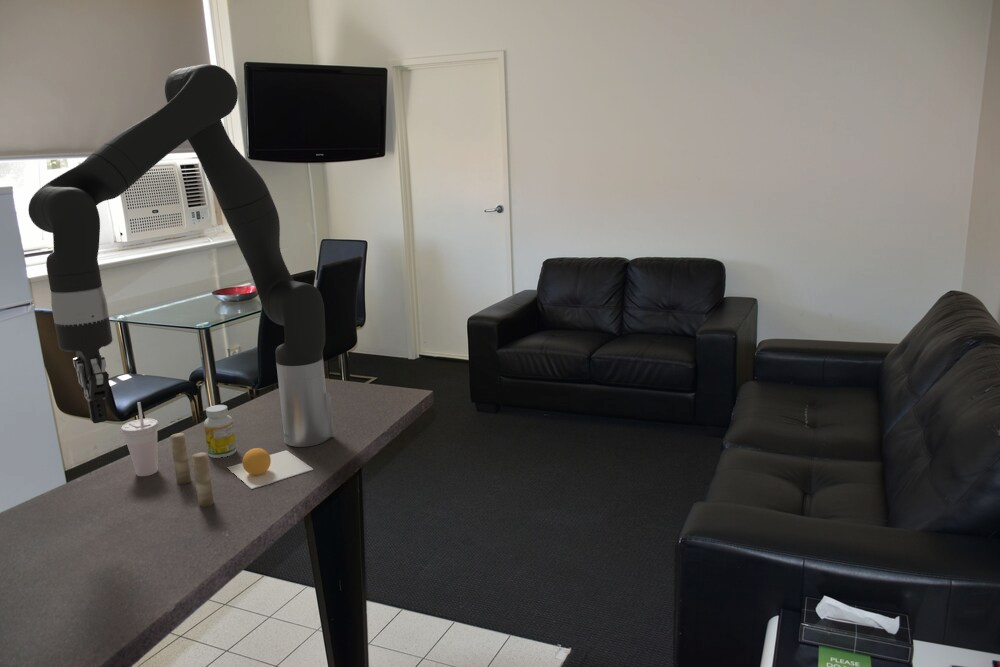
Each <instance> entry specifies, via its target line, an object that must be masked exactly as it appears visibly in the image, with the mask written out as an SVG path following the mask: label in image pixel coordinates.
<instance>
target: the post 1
mask: <svg viewBox="0 0 1000 667" xmlns="http://www.w3.org/2000/svg"><path fill="white" fill-rule="evenodd" d="M169 437H170V442H171V443H170V445H171V449H172V457H173V463H174V471H175V477H176V484H178V485H184V484H188V483H190V482H192V478H191V471H190V470H191V469H190V464H189V456H188V451H187V449H188V448H187V442H186V434H185V433H183V432H179V433H178V432H177V433H174V434H172V435H171V434H170V436H169Z"/></svg>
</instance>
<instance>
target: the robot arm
mask: <svg viewBox="0 0 1000 667" xmlns="http://www.w3.org/2000/svg"><path fill="white" fill-rule="evenodd" d="M238 94H239V91H238V86H237V84H236V81H235V79H234V78H233V76H232V75H231V74H230V73H229V72H228V71H227V70H226V69H224V67H223V68H222V67H221V66H218V65H215V64H210V63H208V64H205V63H204V64H196V65H191V66H186V67H181V68H178V69H175V70H173V71H171V73H169V75H168V76H167V78H166V80H165V85H164V96H165V99H166V102H167V103H166V104H165V105H164V106H162V107H160V109H158V110H156V111H155V112H153V113H152V114H150V115H149V116H147V117H145V118H144V119H142V120H140V121H138V122H136V123H134V124H132V125H131V126H129V127H126V128H125V129H124V130H122V131H120V132H119V133H117V134H115V135H114V136H113V137H111V138H110V139H109V140H107V141H106V142H105V143H104V144H102V145H101V146H100V147H99V148H98V149H96V150H95V151H94V152H92V153H91V154H90V155H89V156H87V157H86V158H85V160H83V161H82V162H81V163H80V164H78V165H77V166H75V167H73V168H71V169H69V170H66V171H65V172H64V173H61V174H60V175H58V176H56V177H55V178H53V179H52V180H50V181H49V182H46V183H45V184H44V185H42V186H41V187H40V188H39V189H38V190H37V191H36V192H34V194H33V195H32V197H31V198H30V201H29V204H28V216H29V218H30V221H31V222H32V223H33V224H34V226H36V227H37V228H38V229H40V230H42V231H44V232H46V233H51V234H52V239H53V240H52V241H53V242H52V244H53V252H51V253H49V255H48V256H47V257H46V260H45V262H46V264H45V266H46V271H47V277H48V283H49V289H50V296H51V297H50V299H51V300H50V303H51V311H52V317H53V322H54V328H55V333H56V334H55V335H56V339H57V343H58V348H59V349H60V350H61V351H64V352H68V353H69V352H70V353H71V352H72V353H74V352H75V356H76V357H74V358H72V363H73V367H74V368H75V371H76V372H75V373H76V374H77V378H78V379H77V381H78V384H79V385H80V387H81V388H80V391H81V392H82V394H83V395H84V398H85V400H86V402H87V406H88V411H89V412H88V413H89V418H90V420H91V422H92V423H93V424H100V423H104V422H106V421H107V420H108V418H109V417H108V413H107V407H106V400H105V399H107V398H108V397H109V377H110V374H109V372H108V371H106V368H107V363H106V357H105V356H102V354H101V353H100V350H101V348H105V347H108V346H109V345H111V344H112V343H113V334H112V328H111V322H110V315H109V310H108V303H107V302H108V301H107V299H106V295H105V293H104V288H103V286H102V285H103V284H102V282H103V281H102V278H101V270H100V266H99V261H98V260H99V259H98V256H99V249H100V238H101V237H100V234H101V219H100V218H101V217H100V213H99V209H98V207H97V206H98V205H100V204H101V203H103V202H107V201H109V200H113V199H116V198H118V197H119V196H121V195H122V194H124V193H125V192H126V191H127V190H128V189H130V187H131V186H133V185H134V184H135V183H136V182H137V181H138V180H140V179H141V178H142V177H143V176H144V175H145V174H146V173H148V171H150V170H151V169H152V168H153V167H155V165H157V164H158V163H159V162H160V161H162V160H163V159H164V158H165V157H167V156H168V155H169V154H171V152H173V151H174V150H175V149H177V148H178V147H179V146H181V145H182V144H183V143H185V142H186V141H188V142H189V144H190V145H191V148H192V150H193V151H194V153H195V156H196V157H197V159H198V161H199V164H200V165H201V168H202V170H203V172H204V175H205V176H206V179H207V181H208V182H209V185H210V186H211V189H212V191H213V193H214V196H215V197H216V200H217V202H218V205H219V207H220V209H221V211H222V214H223V216H224V218H225V220H226V222H227V225H228V227H229V229H230V230H231V232H232V234H233V236H234V239H235V240H236V243H237V245H238V247H239V250H240V252H241V254H242V257H243V258H244V259H245V262H246V265H247V267H248V269H249V271H250V274H251V276H252V279H253V283H254V286H255V289H256V293H257V295H258V299H259V301H260V304H261V307H262V309H263V311H264V313H265V315H266V317H268V318H269V320H271V321H272V322H273V323H275V324H276V325H279V326H283V327H284V328H283V330H284V341H283V342H284V343H282V344H280V345H278V346H277V347H275V348H276V349H275V353H274V354H275V363H276V364H275V365H276V370H277V371H276V372H277V381H278V392H279V401H280V410H281V411H280V412H281V420H282V428H283V439H284V444H286V445H288V446H292V447H297V448H298V447H299V448H303V447H304V448H305V447H306V448H307V447H312V446H313V447H314V446H317V445H319V444H323V443H325V442H326V441H327V440H329V439H331V438H333V437H335V435H334V433H335V432H334V423H333V422H334V421H333V412H332V411H333V410H332V399H331V394H330V393H329V392H328V391H327V387H326V377H325V375H326V374H325V366H324V353H323V352H324V347H325V344H326V318H325V316H326V315H325V304H324V300H323V295H322V293H321V292H320V290H319V289H318V288H317V287H315V286H314V285H312V284H310V283H306V282H301V281H296V280H294V278H293V276H292V275H291V273H290V271H289V270H288V267H287V265H286V262H285V261H284V257H283V254H282V251H281V243H280V236H281V234H280V233H281V223H280V222H281V221H280V217H279V213H278V210H277V207H276V204H275V202H274V200H273V198H272V194H271V193H270V191H269V188H268V186H267V183H266V182H265V180H264V179H263V177H262V176H261V175H260V174H259V172H258V171H257V170H256V169H255V167H254V166H253V165H252V164H251V163H250V162H249V161H248V160H247V158H245V157H244V155H242V153H241V152H240V151H239V149H237V147H236V146H235V145H234V144H233V141H232V140H231V138H230V136H229V135H228V133H227V130H226V128H225V125H224V123H223V121H222V119H225V117H228V116H229V115H230V114H231V113H232V112H233V110H234V109H235V107H236V105H237V102H238V98H239V95H238Z"/></svg>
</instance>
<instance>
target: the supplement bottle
mask: <svg viewBox="0 0 1000 667" xmlns="http://www.w3.org/2000/svg"><path fill="white" fill-rule="evenodd" d="M228 409H229V408H228V406H227V405H224V404H216V405H212V406H208V407H206V409H205V414H206V417H207V418H206V419H205V420H204V423H203V427H204V432H205V434H204V435H205V441H206V448H207V450H206V451H207V456H209V457H210V458H212V459H213V458H214V459H222V458H221V457H223V458H227V456H228V457H230V456H232V455H234V454H235V453H236V451H237V445H236V437H235V428H234V422H233V417H232V416H230V415H229V410H228Z"/></svg>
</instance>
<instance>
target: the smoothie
mask: <svg viewBox="0 0 1000 667" xmlns="http://www.w3.org/2000/svg"><path fill="white" fill-rule="evenodd" d="M137 410H138V416H139V417H138V418H139V419H134V420H131V421H128V422H126V423H124V424H123V425H122V426H121V428H120V429H121V434H122V435H123V436H124V439H125V443H126V445H127V448H128V452H129V455H130V458H131V461H132V464H133V467H134V471H135V474H136V475H137V476H138V477H148V476H151V475H154V474H156V473H157V472H158V470H159V468H158V466H159V465H158V461H159V460H158V453H159V452H158V429H159V427H160V425H159V421H158V420H157V419H155V418H143V417H144V416H143V410H142V404H141V401H139V402H138V401H137Z"/></svg>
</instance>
